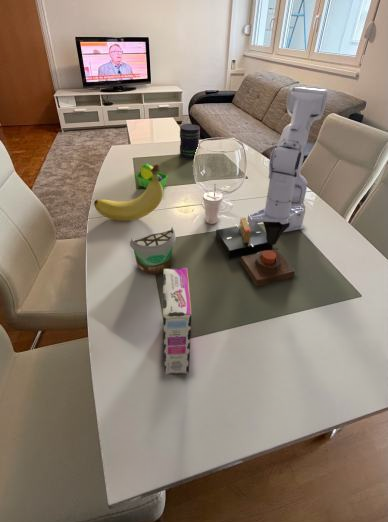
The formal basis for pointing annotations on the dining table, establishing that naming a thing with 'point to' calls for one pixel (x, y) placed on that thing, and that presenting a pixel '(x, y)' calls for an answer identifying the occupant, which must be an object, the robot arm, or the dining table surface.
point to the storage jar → (189, 140)
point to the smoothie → (212, 205)
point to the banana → (133, 202)
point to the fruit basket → (149, 176)
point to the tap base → (235, 244)
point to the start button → (268, 257)
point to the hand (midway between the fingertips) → (271, 242)
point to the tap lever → (245, 230)
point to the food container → (154, 252)
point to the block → (266, 268)
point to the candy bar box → (176, 321)
